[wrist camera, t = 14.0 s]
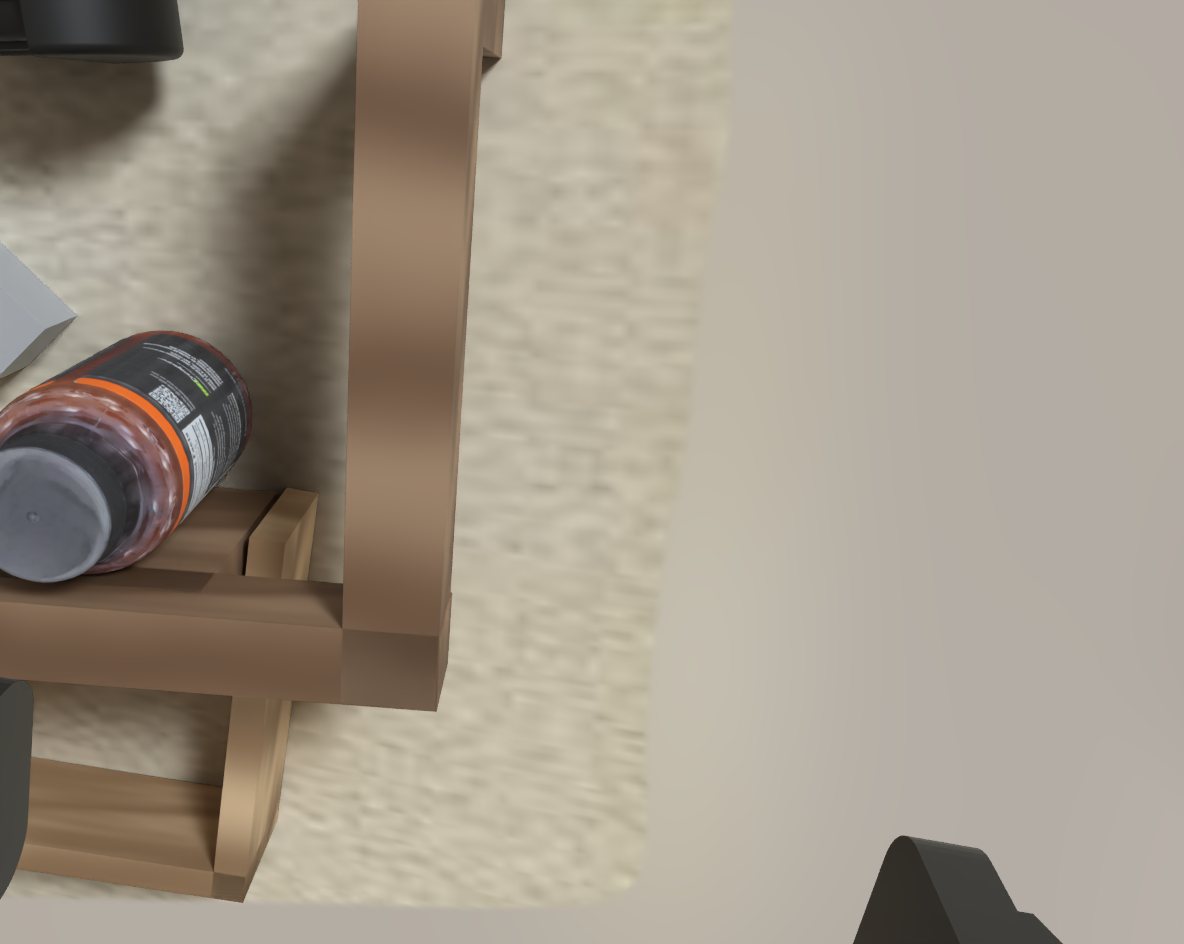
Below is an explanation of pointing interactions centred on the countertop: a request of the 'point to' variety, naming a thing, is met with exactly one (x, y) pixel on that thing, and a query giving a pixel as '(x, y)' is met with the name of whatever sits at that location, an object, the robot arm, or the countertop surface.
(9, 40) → the black box
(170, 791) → the light wood frame
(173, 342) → the supplement bottle
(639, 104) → the countertop surface
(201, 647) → the walnut crook
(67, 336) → the countertop surface
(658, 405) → the countertop surface
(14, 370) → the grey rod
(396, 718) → the countertop surface
